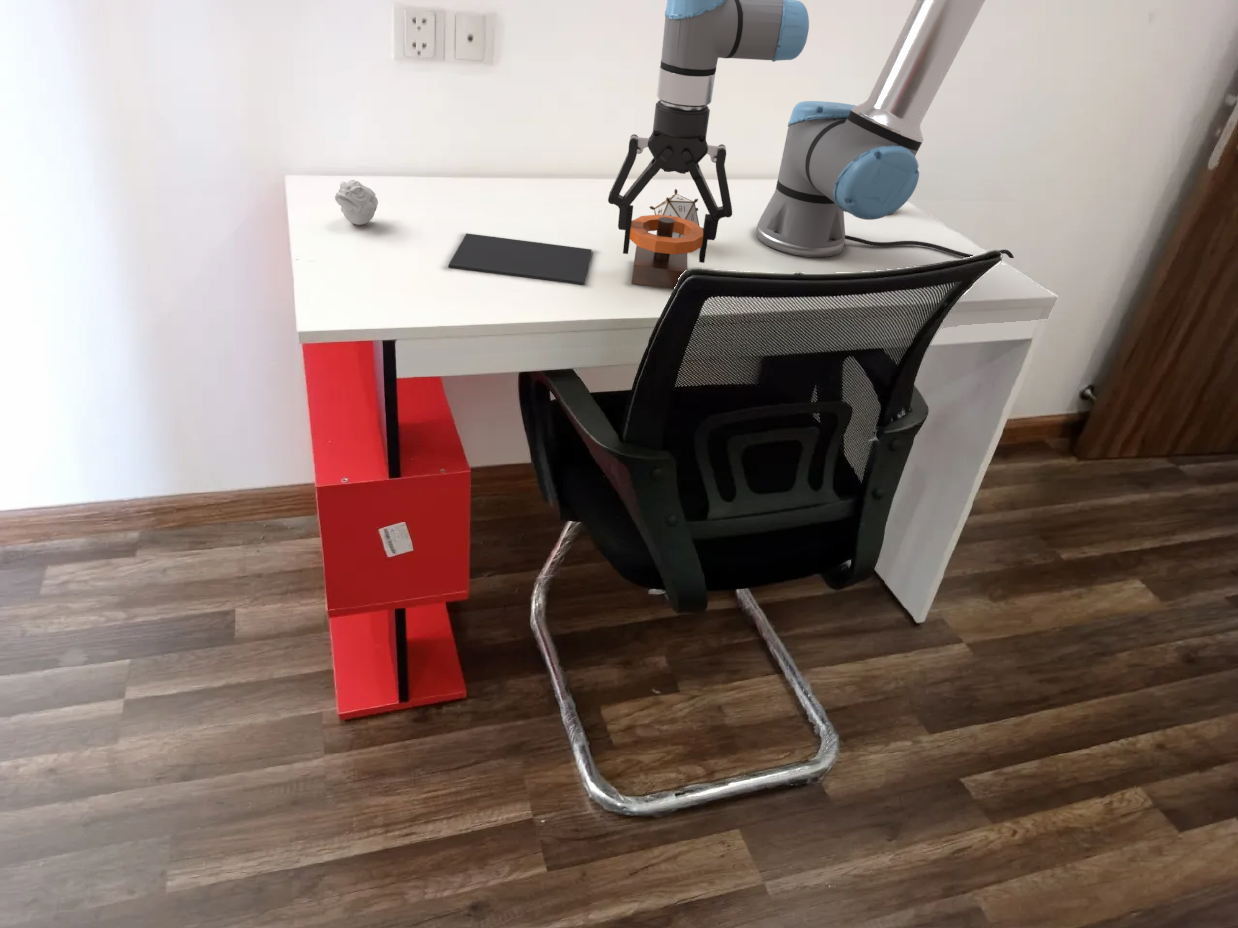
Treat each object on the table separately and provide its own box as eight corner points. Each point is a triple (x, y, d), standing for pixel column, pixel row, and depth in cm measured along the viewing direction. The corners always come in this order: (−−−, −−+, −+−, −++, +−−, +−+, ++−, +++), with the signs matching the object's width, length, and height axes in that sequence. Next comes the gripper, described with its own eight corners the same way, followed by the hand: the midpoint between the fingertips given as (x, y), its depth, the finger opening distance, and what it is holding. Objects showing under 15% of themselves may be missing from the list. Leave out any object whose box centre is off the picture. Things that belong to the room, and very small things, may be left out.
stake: (684, 269, 142) (693, 214, 137) (684, 290, 136) (693, 233, 131) (634, 263, 142) (641, 207, 137) (631, 283, 136) (638, 226, 130)
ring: (701, 230, 140) (703, 219, 139) (701, 257, 131) (703, 245, 130) (631, 222, 140) (633, 211, 139) (627, 249, 131) (628, 237, 130)
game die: (665, 266, 152) (645, 226, 144) (657, 231, 157) (636, 190, 149) (716, 246, 150) (698, 204, 142) (706, 211, 155) (688, 169, 147)
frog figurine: (327, 225, 141) (324, 181, 137) (357, 213, 147) (354, 170, 143) (359, 235, 139) (356, 190, 136) (387, 223, 145) (386, 179, 141)
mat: (591, 251, 144) (591, 249, 144) (583, 284, 133) (583, 282, 133) (466, 235, 144) (466, 233, 144) (448, 267, 133) (448, 264, 133)
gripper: (765, 106, 127) (739, 254, 140) (601, 87, 127) (589, 236, 140) (769, 119, 121) (741, 273, 134) (596, 100, 121) (584, 255, 134)
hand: (663, 254), depth 137 cm, fingers closed on ring, 11 cm apart
